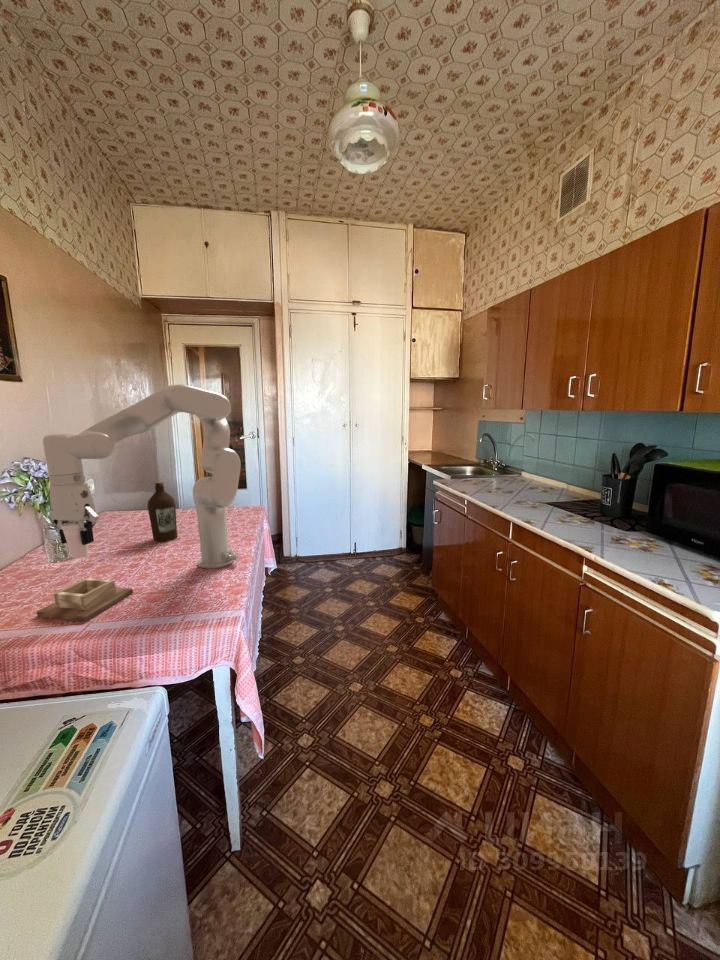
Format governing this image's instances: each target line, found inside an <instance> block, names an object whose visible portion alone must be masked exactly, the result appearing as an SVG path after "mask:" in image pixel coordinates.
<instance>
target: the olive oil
mask: <svg viewBox="0 0 720 960" xmlns="http://www.w3.org/2000/svg"><path fill="white" fill-rule="evenodd" d="M154 489H155V491H154V493H153V494H152V496H151V497H150V498H149V499H148V501H147V510H148V511H147V512H148V516H149V522H150V528H151V533H152V539H153V542H155V541H156V542H155V543H164V541H166V542H170V540H171V541H172V540H173V539H174V540H175V538H176V539H177V538H178V528H177V527H178V524H177V512H176V501H175V499H174V497H173V496H172V495H170V494H169V493H168V492H167V491H165V485H164V482H163V481H157V482H154Z"/></svg>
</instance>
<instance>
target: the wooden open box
mask: <svg viewBox="0 0 720 960" xmlns="http://www.w3.org/2000/svg"><path fill="white" fill-rule="evenodd" d="M115 582H116V581H115V580H114V579H101V578H93V577H92V578H91V577H90V578H89V577H85V578H82V579H81V580H79V581H77V582H74V583H73V584H71V585H69V586H67V587H64V588H63V589H61V590H59V591H56V592H54V593H53V596H54V597H53V598H54V602H52V603H51V604H48V605H47V606H45V607H43V608H41V609H39V610H36V614H37V615H36V616H37V617H38V616H43V617H42V618H46V617H49V618H48V619H54V618H56V620H63V619H64V620H66V621H72V620H75V621H74V622H81V621H84V622H83V623H87V622H89V621H91V620H92V619H94V618H95V617H97V616H100V615H101V614H102V613H104V612H105V611H107V610H108V609H110V608H112V607H113V606H115V605H117V604H119V603H120V602H122V601H123V600H125V599H127V598H128V597H129V595H130V596H131V595H133V594H134V591H133V590H134V589H133V588H126V587H116V584H115ZM132 593H133V594H132ZM124 598H125V599H124ZM121 600H122V601H121ZM90 619H91V620H90ZM88 620H89V621H88Z"/></svg>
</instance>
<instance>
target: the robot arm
mask: <svg viewBox="0 0 720 960" xmlns="http://www.w3.org/2000/svg"><path fill="white" fill-rule="evenodd" d="M231 405H232V404H231V402H230V400H229V399H228V398H227V397H226V396H225V395H223V394H221V393H219V392H214V391H210V390H206V389H203V388H199V387H194V386H193V385H192V386H191V385H188V384H180V383H179V384H172V385H167V386H165V387H162V388H161V389H159V390H157V391H156V392H152V393H151V394H150V395H148V396H147V397H144V398H143V399H141V400H139V401H137V402H136V403H134V404H132V405H130V406H128V407H125V408H124V409H122V410H120V411H118V412H117V413H115V414H113V415H111V416H109V417H107V418H105V419H103V420H100V421H99V422H97V423H95V424H93V425H92V426H90V427H89V428H88V427H87V429H85V430H83V431H82V432H80V433H78V434H73V433H56V434H47V435H45V436H43V438H42V445H43V446H42V447H43V451H44V457H45V462H46V467H47V475H48V478H49V480H48V481H49V485H50V486H49V498H50V499H49V501H50V509H51V511H50V513H49V515H48V518H49V519H51V520H52V522H53V524H54V525H55V526H56V529H57V530H58V531H59V536H60V543H61V544H63V545H64V544H67V541H66V538H65V535H64V532H63V530H62V529H61V526H60V525H61V524H63V523H66V522H69V521H77V522H78V524H79V525H80V527H81V529H82V531H80V535H81V541H82V544H83V545H86V544H88V545H89V544H91V543H93V542H94V541H95V540H94V532H93V531H94V530H93V529H94V528H95V525H96V523H97V521H98V520H99V519H100V516H99V515H98V514H97V513H96V507H95V502H94V497H93V494H92V492H91V489H90V486H89V485H88V483H87V482H86V477H85V474H84V466H83V461H82V460H102V459H106V458H109V457H110V456H111V455H112V454H113V453H114V452H115V449H116V444H117V443H118V442H120V441H123V440H124V439H126V438H129V437H132V436H135V435H141V434H143V433H146V432H149V431H151V430H152V429H155V428H157V426H159V425H160V424H162V423H164V422H165V421H167V420H169V419H171V418H172V417H174V416H175V415H177V414H179V413H186V414H189V415H195V417H196V418H198V419H199V421H200V422H201V424H202V426H203V430H204V432H203V433H204V434H203V436H204V437H203V443H202V451H201V457H200V466H201V469H203V471H205V472H207V473H209V474H212V476H204V477H200V478H199V479H198V480H196V481H195V483H194V485H193V488H192V498H193V502H194V505H195V509H196V515H197V525H198V534H199V545H200V554H201V558H199V559H198V560H197V566H198V567H199V568H201V569H209V570H211V569H212V570H213V569H219V568H220V569H221V568H223V567H226V566H229V565H231V564H232V563H234V561H238V560H239V552H233V549H232V548H231V547H230V546H229V535H228V523H227V520H228V519H227V512H226V508H227V507H230V506H231V505H232V504H233V503H234V501H235V499H236V497H237V493H238V489H239V488H238V487H239V483H240V482H239V481H240V475H241V466H242V464H241V458H240V456H239V454H238V453H237V451H235V450H234V449H231V448H230V440H231V429H230V425H229V423H228V420H227V417H229V415H230V413H231V412H232V411H231V410H232V406H231ZM84 521H86V524H84Z"/></svg>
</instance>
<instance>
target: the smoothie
mask: <svg viewBox="0 0 720 960" xmlns="http://www.w3.org/2000/svg"><path fill="white" fill-rule="evenodd" d="M84 524H86V521H84ZM60 526H61V529H62V530H63V532H64V535H65V538H66V541H67V543H66V544H67V546H68V549H69V553H70V555H71V559H81V558H84V557H85V558H86V556H89V544H86V545H83V544H82V541H81V535H80V531H82V529H81V527H80V525H79V524H78V522H77V521H69V522H66V523H63V524H61V525H60Z"/></svg>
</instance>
